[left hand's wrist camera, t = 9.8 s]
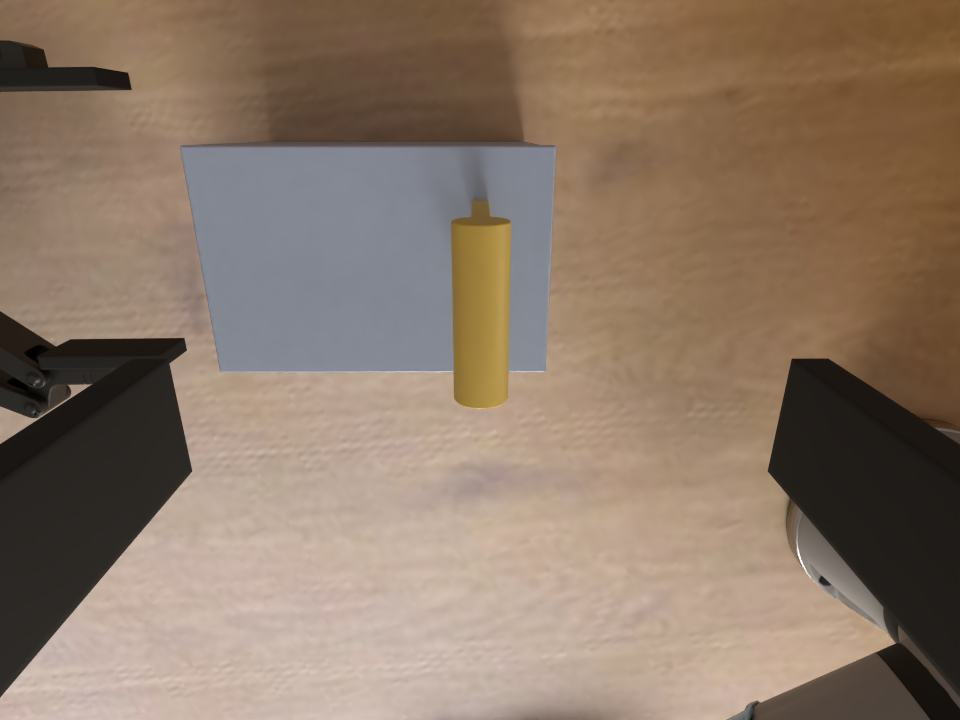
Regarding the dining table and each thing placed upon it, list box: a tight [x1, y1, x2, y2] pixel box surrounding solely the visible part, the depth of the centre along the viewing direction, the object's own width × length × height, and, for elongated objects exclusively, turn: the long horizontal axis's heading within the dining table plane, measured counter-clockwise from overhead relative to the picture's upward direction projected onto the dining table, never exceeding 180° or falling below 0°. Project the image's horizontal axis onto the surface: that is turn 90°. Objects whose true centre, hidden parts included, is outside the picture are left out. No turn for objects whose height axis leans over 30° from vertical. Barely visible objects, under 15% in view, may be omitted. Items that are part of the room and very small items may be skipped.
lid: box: [180, 145, 556, 409], centre depth 22 cm, size 16×10×9 cm, turn 90°
